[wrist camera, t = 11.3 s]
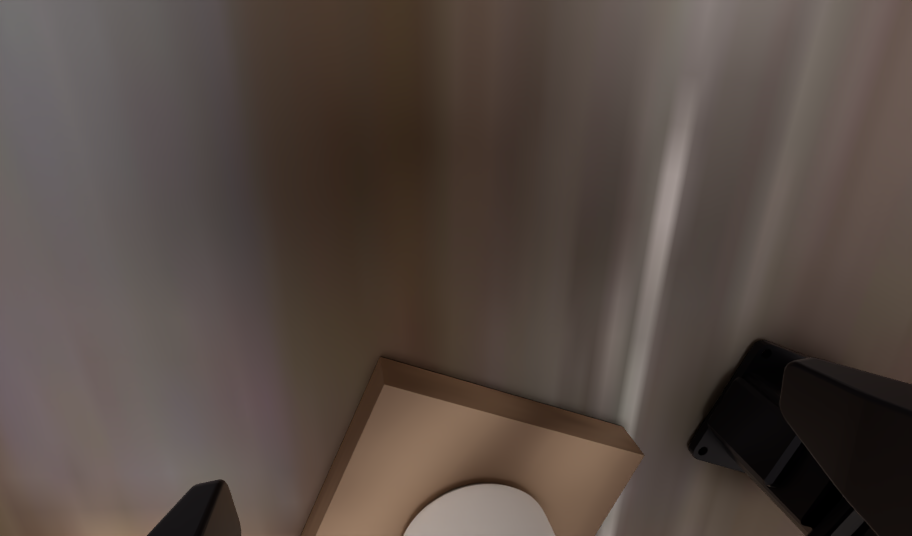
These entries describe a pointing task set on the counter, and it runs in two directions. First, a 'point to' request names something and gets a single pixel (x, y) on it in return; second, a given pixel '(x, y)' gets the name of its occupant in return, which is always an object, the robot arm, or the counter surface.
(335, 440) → the counter surface
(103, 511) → the counter surface
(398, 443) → the base
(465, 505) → the can
